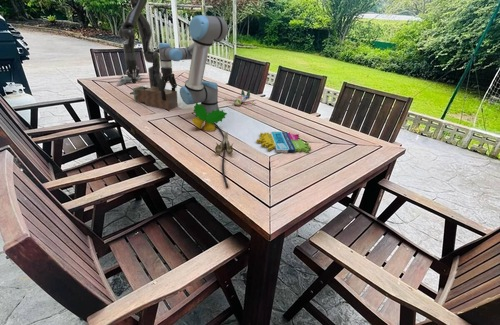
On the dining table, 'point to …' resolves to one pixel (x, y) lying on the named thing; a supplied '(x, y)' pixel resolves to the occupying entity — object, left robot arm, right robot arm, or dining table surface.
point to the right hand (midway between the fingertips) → (169, 98)
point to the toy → (241, 99)
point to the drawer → (139, 93)
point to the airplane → (128, 79)
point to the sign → (283, 142)
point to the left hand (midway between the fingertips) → (134, 83)
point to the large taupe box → (160, 98)
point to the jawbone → (224, 145)
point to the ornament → (207, 117)
